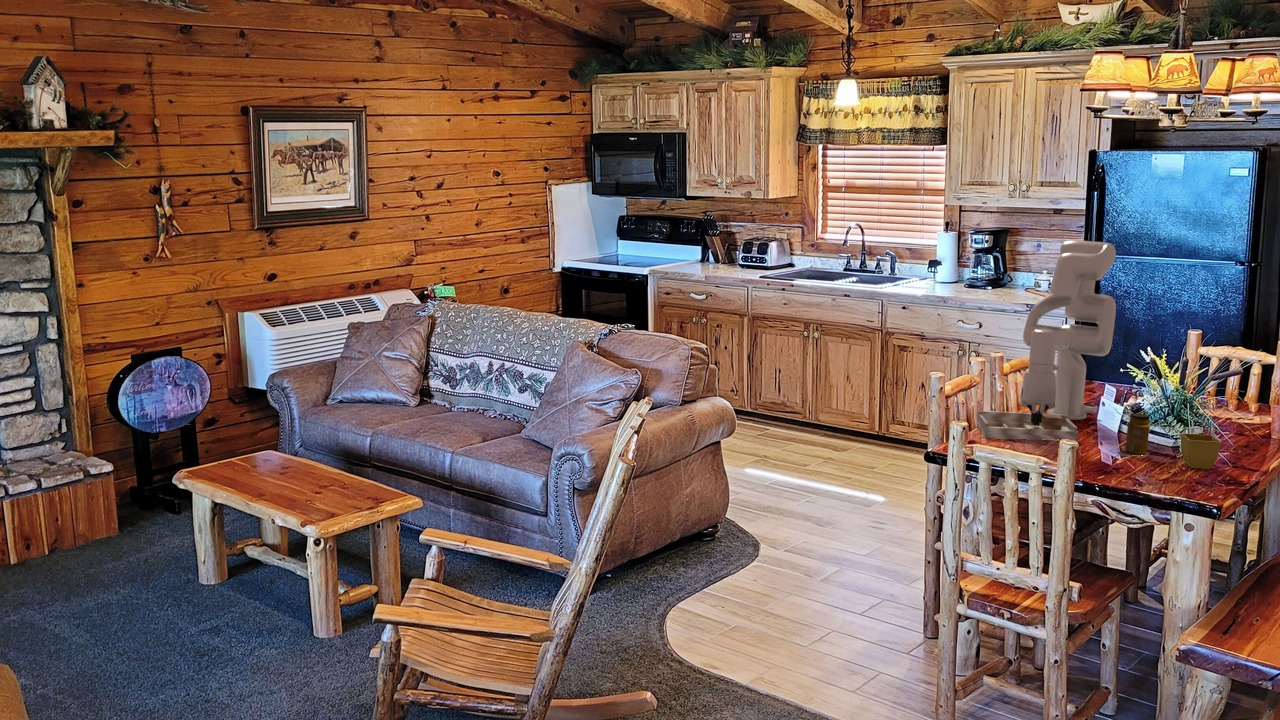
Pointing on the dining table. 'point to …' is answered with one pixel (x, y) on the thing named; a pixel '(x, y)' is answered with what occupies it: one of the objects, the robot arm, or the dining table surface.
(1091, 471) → the dining table surface
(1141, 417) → the condiment
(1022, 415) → the compartment box
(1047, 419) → the walnut block
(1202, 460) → the flower pot
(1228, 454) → the dining table surface
